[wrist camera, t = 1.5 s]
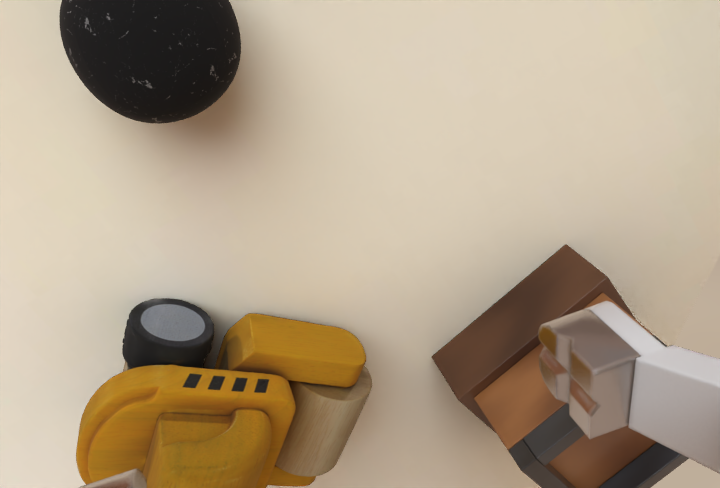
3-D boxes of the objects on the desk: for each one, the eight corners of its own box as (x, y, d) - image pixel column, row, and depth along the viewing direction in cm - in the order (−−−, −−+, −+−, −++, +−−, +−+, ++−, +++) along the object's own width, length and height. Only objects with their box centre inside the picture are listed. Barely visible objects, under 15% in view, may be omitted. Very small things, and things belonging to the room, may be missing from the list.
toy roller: (320, 434, 37) (369, 591, 28) (77, 422, 31) (44, 616, 23) (367, 323, 34) (439, 462, 25) (106, 286, 28) (81, 451, 19)
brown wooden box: (566, 243, 36) (680, 334, 28) (628, 333, 42) (737, 429, 34) (431, 356, 37) (504, 474, 29) (510, 428, 43) (588, 542, 35)
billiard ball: (132, 122, 25) (125, 173, 20) (38, -16, 22) (1, 3, 17) (256, 59, 25) (279, 93, 20) (181, -86, 22) (187, -89, 17)
